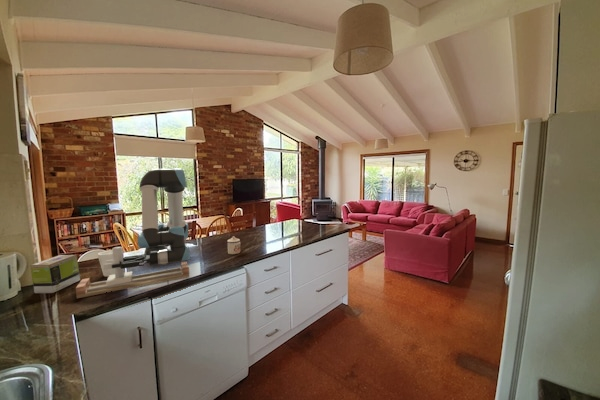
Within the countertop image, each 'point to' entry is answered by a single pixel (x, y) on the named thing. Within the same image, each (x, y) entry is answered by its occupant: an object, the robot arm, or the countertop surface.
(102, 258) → the foam cup
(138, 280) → the rail
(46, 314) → the countertop surface
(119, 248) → the carriage
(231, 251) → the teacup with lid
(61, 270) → the tea box
